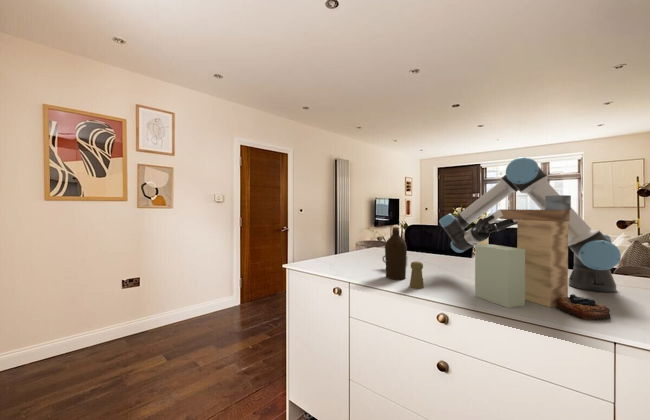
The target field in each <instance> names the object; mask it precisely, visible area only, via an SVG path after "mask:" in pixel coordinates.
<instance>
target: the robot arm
mask: <svg viewBox="0 0 650 420" xmlns="http://www.w3.org/2000/svg"><path fill="white" fill-rule="evenodd" d="M548 178H549V176H548V175H547V174H546V173H545V172H544V171H543V169H541V167H540V166H539V165H538V163H537V161H536V160H535V159H533V158H531V157H525V156H523V157H517V158H515V159H513V160H511V161H510V162H509V163H508V165H507V166H506V168H505V175H503V176H502V177H501V178H500V181H499V182H498V183H497V184H495V185H494V186H493V187H491V188H490V189H489V190H487V192H484V194H482V195H481V196H480V197H479V198H478V199H476V200H475V201H473V202H472V203H471V204H469V206H467V207H466V208H465V209H463V210H462V211H461V212H460V213H459V214H457V215H456V216H454V215H453V214H452V213H448V214H446V215H444V216H442V217H441V218H440V219H439V222H438V223H439V224H440V226H441V227H442V228H443V230H444V231H445V233H446V234H447V235H448V237H449V238H450V240H451V241H450V248H451V250H453V251H454V252H456V253H457V254H458V253H460V254H461V253H464V252H465V251H468V250H469V249H471V248H473V247H475V245H479V244H480V243H481V242H483V241H485V240H488V239H489V238H490V234H491V233H494V232H496V233H499V232H500V231H501V230H505V229H507V228H510V227H513V226H514V225H517V220H514V219H502V220H501V221H498V222H497V220H498V219H499V218H500V217H502V216H503V214H502V212H501V210H499V209H497V210H496V211H494V212H493V213H491V214H490V215H488V216H487V217H484V218H479V217H481V216H482V215H484V214H486V212H488V211H489V210H490V209H492V208H493V207H495V206H496V205H497V204H498V203H500V202H501V201H503V200H504V199H505V198H507V197H508V196H510V194H512V193H517V192H520V193H521V194H526V195H528V197H530V199H531V200H532V201H533V202H534V203H535V205H536V206H537V207H538V208H539V210H545V200H546V196H556V195H560V194H559V193H558V191H557V190H555V188H554V187H553V186H552V185H551V184H550V182H548ZM478 218H479V219H478ZM477 219H478V221H477V222H476V223H475V225H474V226H472V227H471V228H469V229H468V230H465V229H466V228H467V227H469V225H470V224H472V223H473V222H474V221H476V220H477ZM568 249H570V250H571V251H572V252H573V269H572V271H571V273H570V275H569V276H568V286H571V287H573V288H577V289H581V290H585V291H593V292H601V293H602V292H603V293H614V292H617V283H616V282H615V279H614V276H613V273H612V271H611V269H613V268H614V267H617V265H618V264H619V263H620V261H621V257H622V255H621V251H620V249H619V248H618V246H617V245H615V244H614V243H612V240H611V236H610V235H608V234H603V233H602V232H601V231H600V229H596V228H592V227H590V226H589V225H588V223H586V221H585V220H584V219H582V217H581V216H580V215H579V213H577V212H576V210H575V209H573V208H572V207H571V210H570V221H568Z"/></svg>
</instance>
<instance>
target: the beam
mask: <svg viewBox="0 0 650 420" xmlns="http://www.w3.org/2000/svg"><path fill="white" fill-rule="evenodd" d="M571 202H572V196H571V195H568V194H567V195H563V194H561V195H560V194H559V195H556V196H546V200H545V210H541V209H510V208H509V209H500V208H499V209H498V210H501V212H502V214H503V216H502V217H500V218H498V219H499V220H506V219H514V220H538V221H570V210H571V208H572V203H571Z"/></svg>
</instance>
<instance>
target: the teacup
mask: <svg viewBox="0 0 650 420" xmlns="http://www.w3.org/2000/svg"><path fill="white" fill-rule="evenodd" d="M408 257H409V256H408V255H406V268H408ZM381 259H382V262H383V263H384V264H386V259H385V254H384V255H383V256H382V258H381Z"/></svg>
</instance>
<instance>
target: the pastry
mask: <svg viewBox="0 0 650 420" xmlns="http://www.w3.org/2000/svg"><path fill="white" fill-rule="evenodd" d="M556 303H557V306H555V308H556V310H558V311H560V312H562V313H564V314H566V315H567V314H568V315H570V316H572V317H574V318H577V319H580V320H582V321H606V320H611V317H612V314H611V313H610V312H611V310H610V308H609V307H608V306H606V305H604V304H601V303H597V302H596V300H595V299H590V298H586V297H582V296H577V295H576V294H574V293H573V294H572V293H571V294H569V296H568V297H567V298H566V297H559V298H557V301H556Z"/></svg>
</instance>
